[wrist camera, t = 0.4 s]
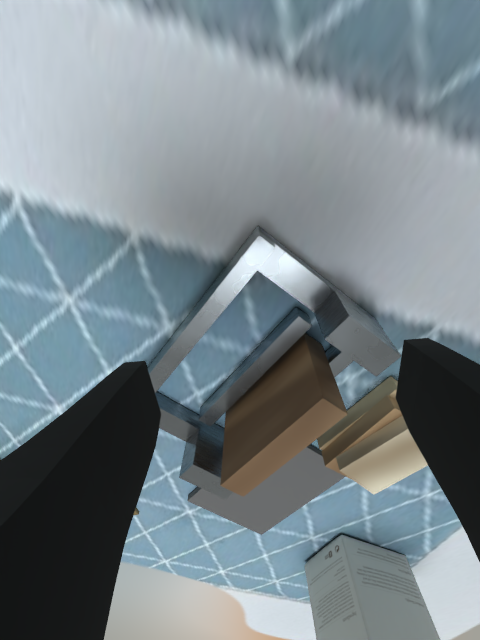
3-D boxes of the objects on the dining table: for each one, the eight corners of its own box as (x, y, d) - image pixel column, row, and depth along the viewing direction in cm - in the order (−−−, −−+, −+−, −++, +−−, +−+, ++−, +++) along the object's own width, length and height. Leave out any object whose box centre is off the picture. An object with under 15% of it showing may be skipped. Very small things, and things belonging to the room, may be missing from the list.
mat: (349, 467, 26) (350, 472, 25) (261, 528, 30) (261, 534, 30) (271, 421, 24) (271, 427, 23) (188, 495, 28) (187, 500, 28)
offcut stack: (432, 407, 23) (460, 447, 20) (356, 460, 26) (370, 503, 23) (389, 375, 22) (412, 412, 19) (313, 435, 24) (323, 476, 21)
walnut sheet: (321, 344, 21) (347, 414, 15) (244, 417, 24) (243, 496, 18) (302, 330, 20) (322, 398, 15) (226, 407, 23) (220, 485, 18)
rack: (379, 321, 20) (408, 361, 16) (233, 452, 25) (231, 502, 22) (257, 225, 17) (260, 247, 14) (125, 395, 23) (103, 441, 19)
